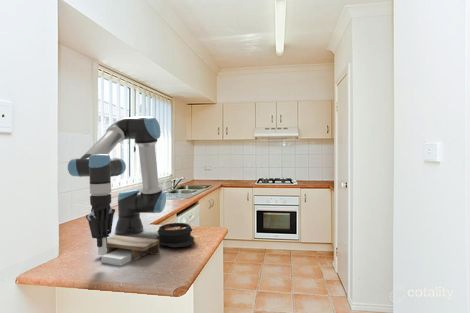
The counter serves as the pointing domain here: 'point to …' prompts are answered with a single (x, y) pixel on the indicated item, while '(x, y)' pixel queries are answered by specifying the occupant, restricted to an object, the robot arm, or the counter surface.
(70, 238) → the counter surface
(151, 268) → the counter surface
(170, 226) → the casserole
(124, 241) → the low shelf
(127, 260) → the plastic case
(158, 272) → the counter surface
